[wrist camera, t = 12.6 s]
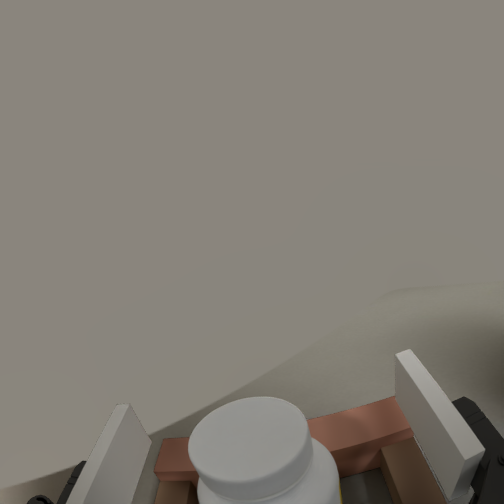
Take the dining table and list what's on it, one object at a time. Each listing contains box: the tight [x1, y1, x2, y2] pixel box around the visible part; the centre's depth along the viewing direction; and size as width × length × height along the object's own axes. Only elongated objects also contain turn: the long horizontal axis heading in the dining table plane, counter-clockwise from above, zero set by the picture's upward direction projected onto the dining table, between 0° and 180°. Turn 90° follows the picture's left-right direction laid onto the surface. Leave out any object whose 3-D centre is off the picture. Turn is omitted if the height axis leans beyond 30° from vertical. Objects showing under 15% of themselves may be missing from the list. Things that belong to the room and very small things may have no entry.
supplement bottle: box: [188, 397, 343, 504], centre depth 10 cm, size 5×5×10 cm
